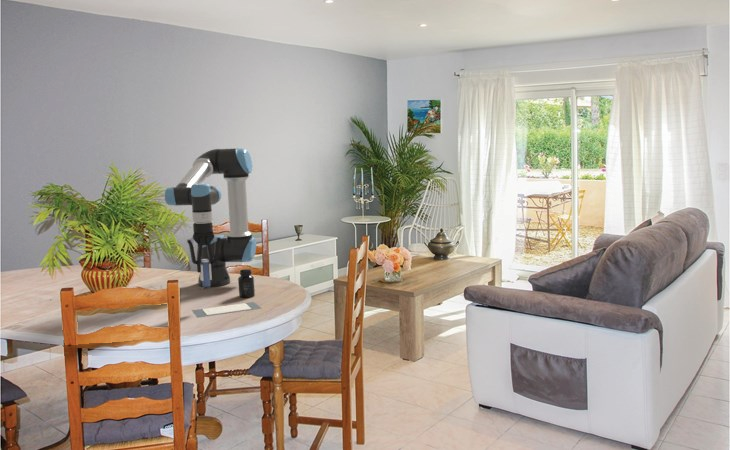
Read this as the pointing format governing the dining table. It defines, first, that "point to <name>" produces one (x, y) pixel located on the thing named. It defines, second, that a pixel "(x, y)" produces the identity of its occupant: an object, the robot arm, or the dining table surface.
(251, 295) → the supplement bottle
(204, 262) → the marker
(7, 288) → the dining table surface
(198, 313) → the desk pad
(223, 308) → the paper
